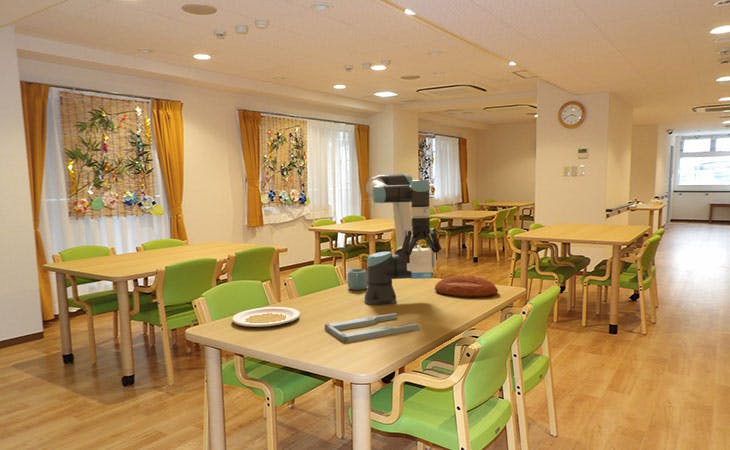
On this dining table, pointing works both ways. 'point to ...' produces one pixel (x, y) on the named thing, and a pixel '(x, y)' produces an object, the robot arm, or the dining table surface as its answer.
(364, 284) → the mug
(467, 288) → the bread
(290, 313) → the plate
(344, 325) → the dock
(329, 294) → the dining table surface
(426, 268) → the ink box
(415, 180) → the robot arm
